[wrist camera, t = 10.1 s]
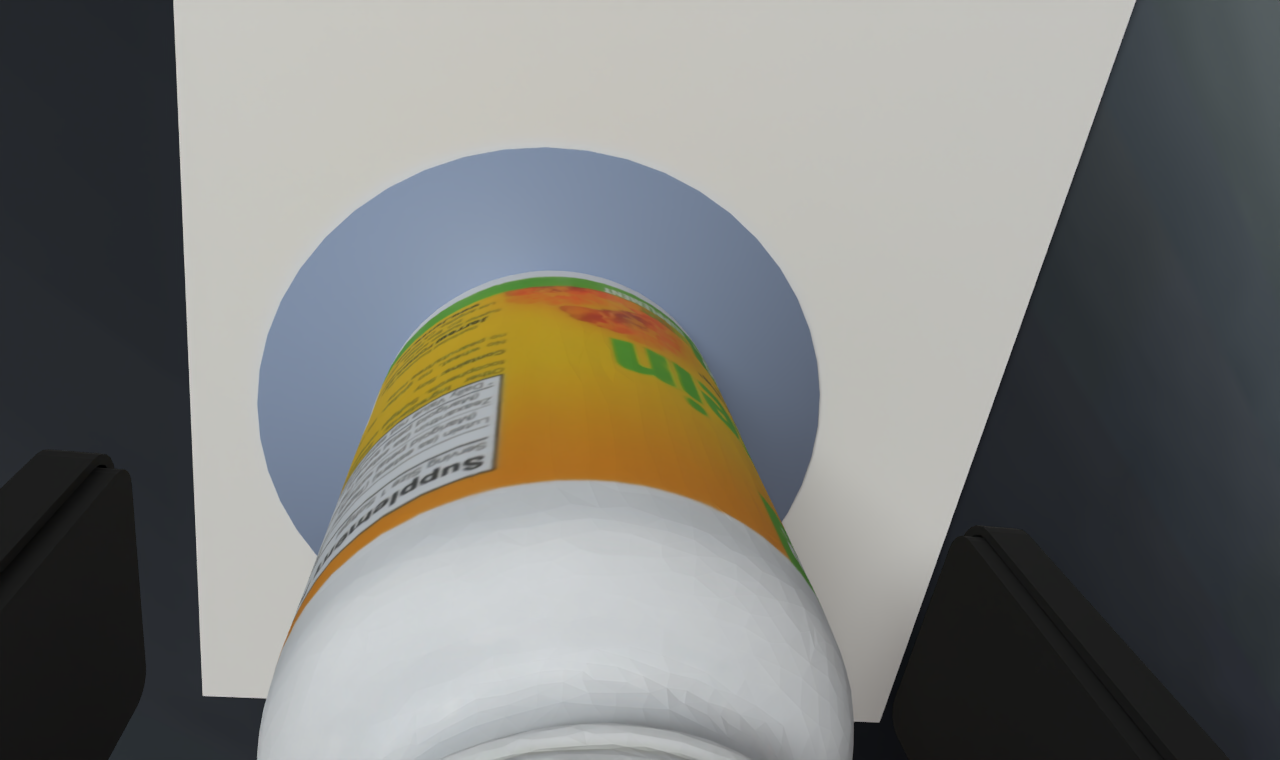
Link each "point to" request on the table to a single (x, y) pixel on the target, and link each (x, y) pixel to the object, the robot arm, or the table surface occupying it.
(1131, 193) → the table surface
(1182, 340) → the table surface
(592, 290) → the supplement bottle
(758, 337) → the paper sheet
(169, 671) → the table surface
